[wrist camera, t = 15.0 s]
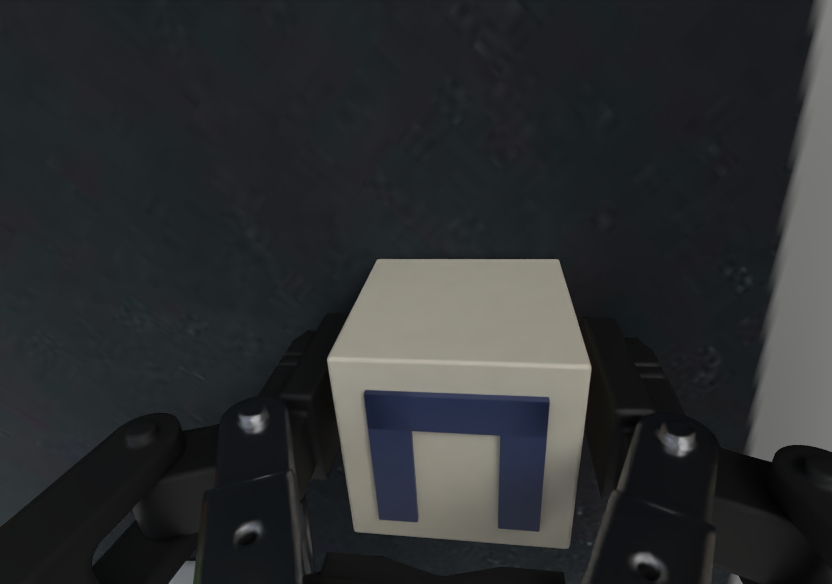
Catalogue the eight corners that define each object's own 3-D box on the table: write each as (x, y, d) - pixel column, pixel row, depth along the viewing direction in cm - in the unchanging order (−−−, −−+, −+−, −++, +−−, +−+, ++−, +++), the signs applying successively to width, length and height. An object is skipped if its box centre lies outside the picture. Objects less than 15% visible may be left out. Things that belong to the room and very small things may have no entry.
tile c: (559, 257, 12) (594, 370, 8) (547, 406, 14) (570, 556, 10) (376, 258, 13) (322, 362, 9) (390, 399, 15) (351, 538, 11)
